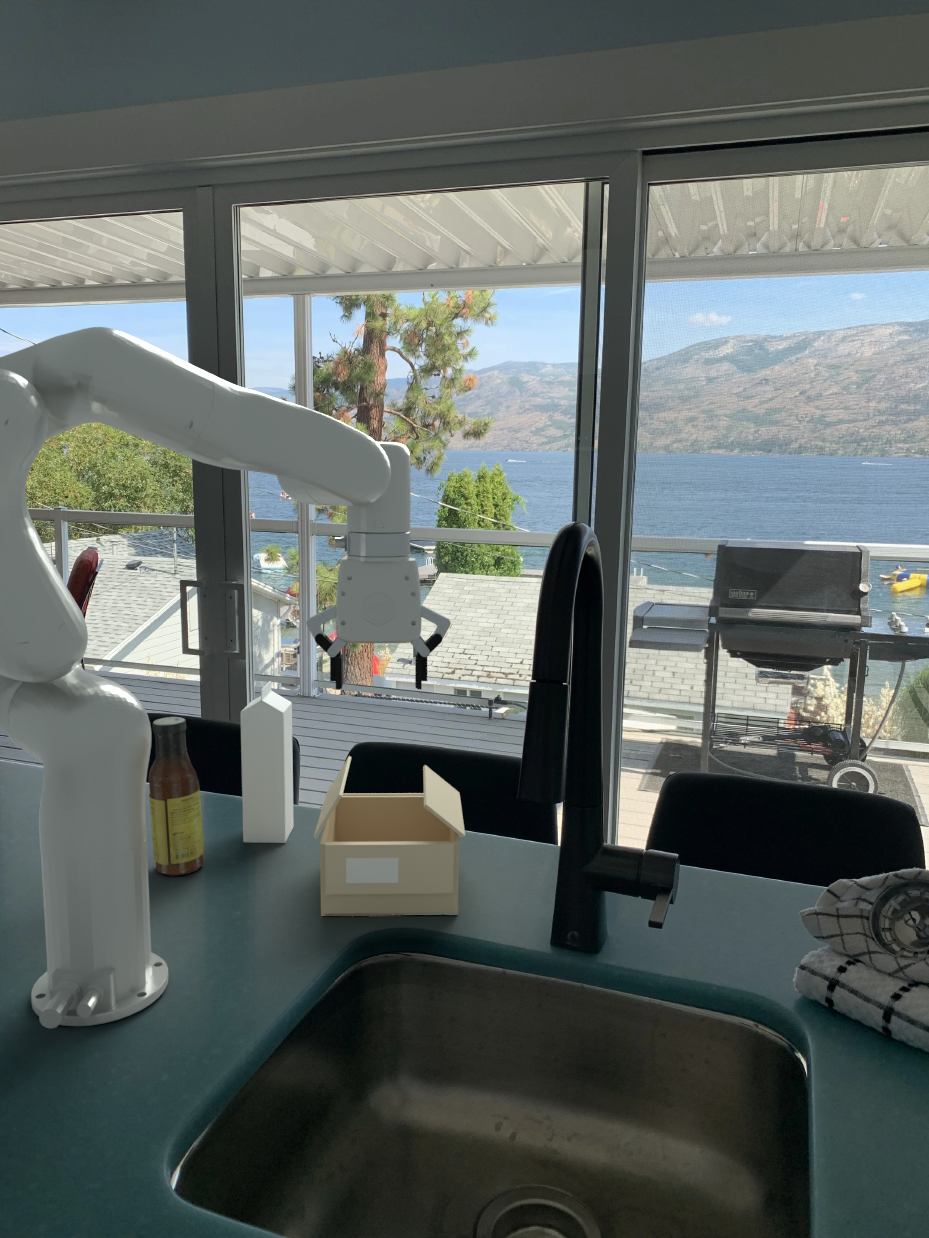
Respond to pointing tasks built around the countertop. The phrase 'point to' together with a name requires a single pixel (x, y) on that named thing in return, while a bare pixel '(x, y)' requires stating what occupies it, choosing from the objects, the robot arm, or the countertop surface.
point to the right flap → (443, 801)
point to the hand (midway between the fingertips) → (379, 687)
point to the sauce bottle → (174, 802)
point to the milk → (267, 768)
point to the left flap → (332, 797)
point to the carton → (387, 858)
